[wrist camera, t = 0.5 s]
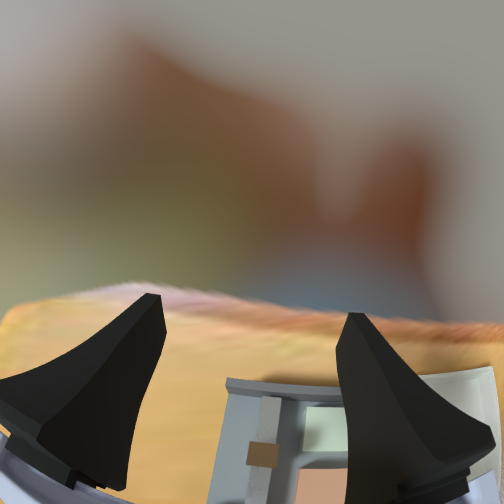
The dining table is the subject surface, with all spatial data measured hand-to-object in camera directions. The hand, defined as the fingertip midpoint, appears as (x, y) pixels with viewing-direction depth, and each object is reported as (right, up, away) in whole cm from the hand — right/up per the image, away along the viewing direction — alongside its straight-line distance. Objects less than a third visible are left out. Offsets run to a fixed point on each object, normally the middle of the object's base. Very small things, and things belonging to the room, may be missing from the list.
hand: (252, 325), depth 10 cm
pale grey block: (+1, -14, +8) cm, 16 cm away
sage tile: (+6, -13, +10) cm, 17 cm away
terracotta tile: (+5, -17, +6) cm, 19 cm away
